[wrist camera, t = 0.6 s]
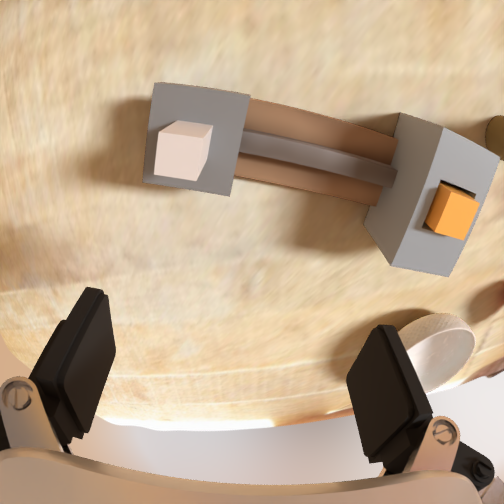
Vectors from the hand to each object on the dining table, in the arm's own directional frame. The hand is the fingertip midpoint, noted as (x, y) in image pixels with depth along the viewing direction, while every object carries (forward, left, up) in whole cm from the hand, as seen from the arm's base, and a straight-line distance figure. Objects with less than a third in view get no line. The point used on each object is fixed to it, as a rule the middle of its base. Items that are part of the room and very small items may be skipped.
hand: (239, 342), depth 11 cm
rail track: (-2, +3, -25) cm, 26 cm away
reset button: (-2, +19, -19) cm, 27 cm away
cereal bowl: (+22, +33, -26) cm, 47 cm away
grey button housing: (-2, +19, -25) cm, 32 cm away
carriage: (-2, -5, -24) cm, 24 cm away
